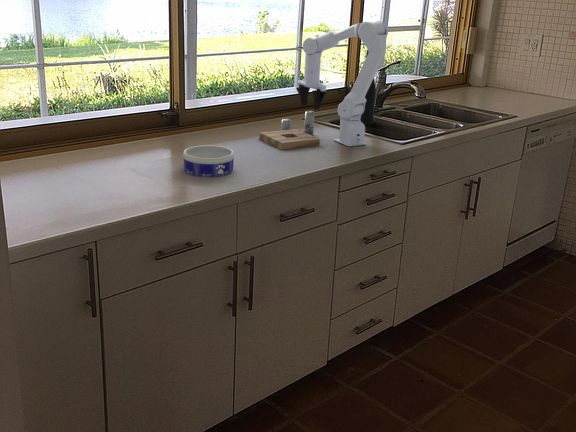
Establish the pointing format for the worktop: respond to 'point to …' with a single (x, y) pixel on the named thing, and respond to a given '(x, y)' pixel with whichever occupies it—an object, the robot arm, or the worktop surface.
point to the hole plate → (289, 139)
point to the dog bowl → (208, 161)
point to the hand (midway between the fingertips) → (310, 107)
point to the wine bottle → (369, 104)
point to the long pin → (309, 122)
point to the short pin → (286, 124)
